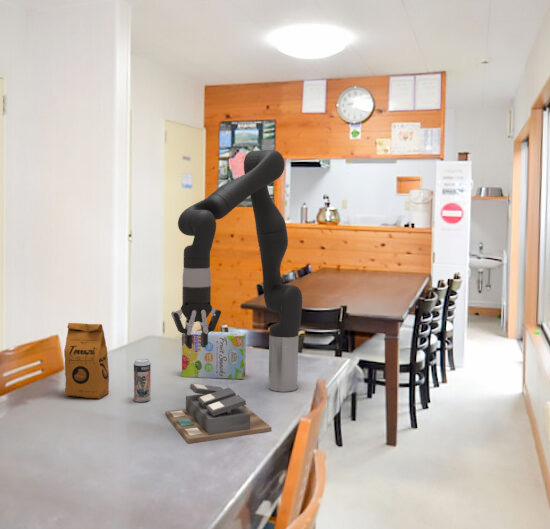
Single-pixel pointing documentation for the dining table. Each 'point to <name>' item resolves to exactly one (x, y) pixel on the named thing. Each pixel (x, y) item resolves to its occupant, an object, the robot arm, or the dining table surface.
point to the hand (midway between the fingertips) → (196, 347)
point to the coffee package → (86, 361)
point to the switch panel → (205, 437)
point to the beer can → (142, 380)
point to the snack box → (215, 356)
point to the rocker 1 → (204, 389)
